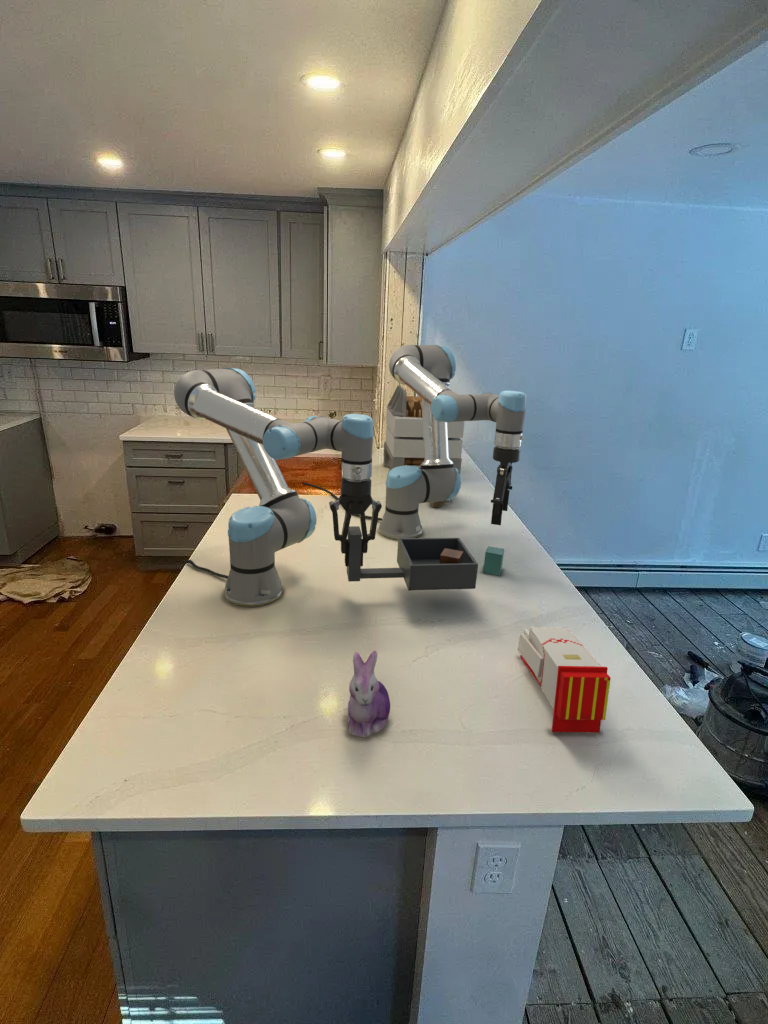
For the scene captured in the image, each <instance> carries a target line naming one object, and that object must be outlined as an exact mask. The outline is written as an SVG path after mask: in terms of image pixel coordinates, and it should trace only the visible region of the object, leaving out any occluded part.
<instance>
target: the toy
mask: <svg viewBox="0 0 768 1024" xmlns="http://www.w3.org/2000/svg"><path fill="white" fill-rule="evenodd" d="M518 638H519V639H518V646H517V651H518V653H519V654H520V659H521V660H522V662H523V663H524V665H525V666H526V668H527V669H528V670H529V672H530V673H531V675H532V676H533V678H534V679H535V681H536V683H537V684H538V685H539V687H541V691H542V692H543V694H544V695H545V697H546V698H547V701H548V702H549V704H550V705H551V707H552V709H553V714H552V724H551V732H552V733H586V734H587V733H593V734H595V733H597V734H600V732H601V724H602V721H606V719H607V711H608V710H607V709H608V701H609V694H610V686H611V676H610V675H609V674H608V669H609V668H608V666H601V665H600V663H599V662H598V661H597V660H596V658H594V656H593V655H592V654H591V652H589V651H588V649H587V648H586V647H585V646H584V644H583V643H582V642H581V640H579V639H578V637H577V636H576V635H575V633H573V631H572V630H571V629H570V628H569V627H557V626H556V627H555V626H554V627H553V626H529V628H524V629H523V632H520V633H519V637H518Z"/></svg>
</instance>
